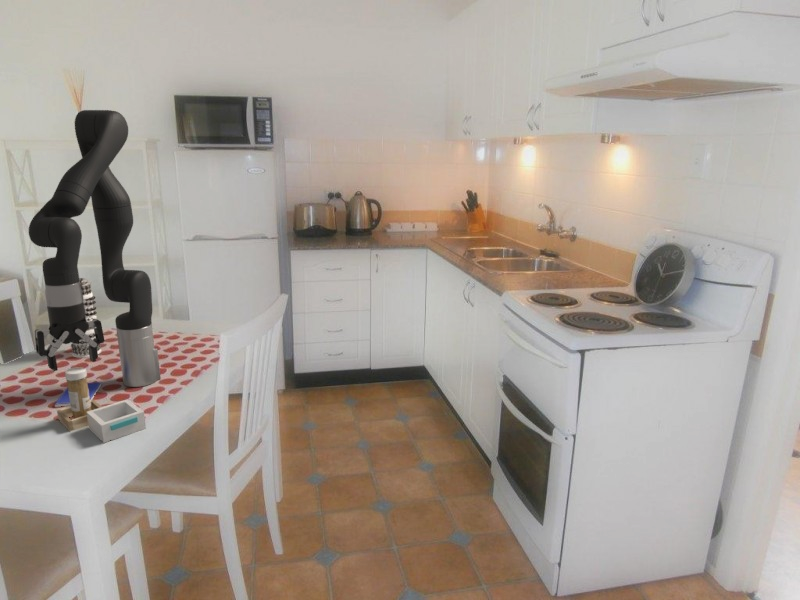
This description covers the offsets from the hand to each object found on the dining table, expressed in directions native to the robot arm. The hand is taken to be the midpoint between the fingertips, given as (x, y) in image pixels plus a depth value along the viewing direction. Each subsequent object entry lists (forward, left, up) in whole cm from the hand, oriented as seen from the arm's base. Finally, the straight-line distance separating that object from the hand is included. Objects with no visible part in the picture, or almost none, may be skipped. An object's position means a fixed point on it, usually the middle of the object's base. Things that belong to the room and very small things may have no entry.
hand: (74, 365), depth 135 cm
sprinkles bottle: (0, 0, -15) cm, 15 cm away
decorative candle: (-17, -49, -15) cm, 54 cm away
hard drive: (-4, -16, -16) cm, 22 cm away
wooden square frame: (0, 0, -15) cm, 15 cm away
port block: (-4, +11, -15) cm, 19 cm away
